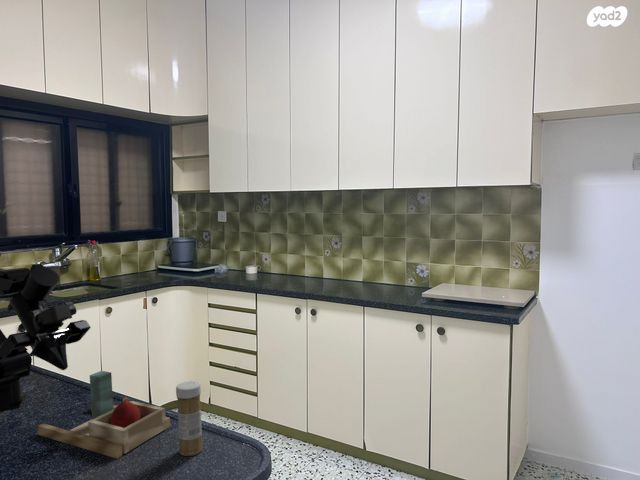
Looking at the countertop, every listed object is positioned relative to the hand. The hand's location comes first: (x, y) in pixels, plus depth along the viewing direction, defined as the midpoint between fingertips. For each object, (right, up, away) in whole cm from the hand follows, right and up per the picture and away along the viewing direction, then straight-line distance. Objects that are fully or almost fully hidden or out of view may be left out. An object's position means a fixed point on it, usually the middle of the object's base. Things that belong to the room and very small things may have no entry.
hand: (65, 368), depth 104 cm
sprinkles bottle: (+31, -13, -12) cm, 36 cm away
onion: (+16, -13, -5) cm, 21 cm away
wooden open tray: (+14, -12, -4) cm, 19 cm away
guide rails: (+10, -13, -3) cm, 16 cm away
